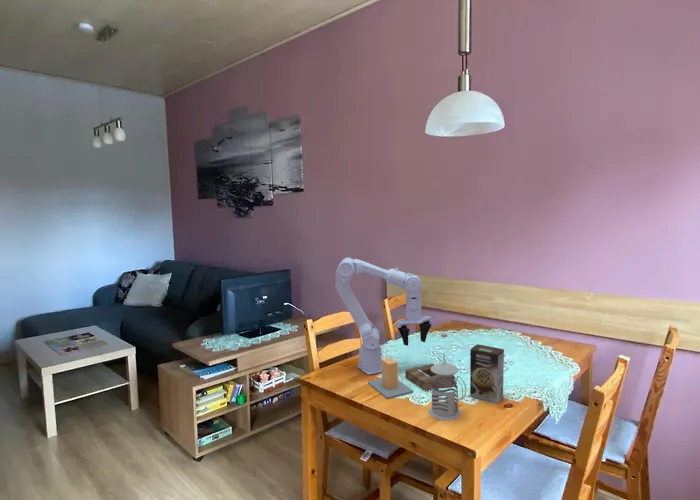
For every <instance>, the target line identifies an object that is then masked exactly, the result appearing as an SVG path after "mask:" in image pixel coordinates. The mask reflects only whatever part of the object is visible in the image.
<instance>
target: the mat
mask: <svg viewBox="0 0 700 500" xmlns="http://www.w3.org/2000/svg"><path fill="white" fill-rule="evenodd" d="M367 384H368V385H369V386H370V387H371V388H373V389H375V390H376V392H378V393H379V394H381V395H382V396H383V397H384V398H385V399H387V400H389V399H393V398H394V399H395V398H397V397H400V396H401V397H402V396H406V395H409V394H413V393H414V390H413V389H412V388H410V387H409V386H407V385H406V384H405V383H403V382H402V381H400V380H399V379H398V388H395V389H391V390H389V389H387V388H386V387H385V386H384V385H382V377H381V378H376V379H374V380H370V381H367ZM405 394H406V395H405Z"/></svg>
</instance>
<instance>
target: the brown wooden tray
mask: <svg viewBox="0 0 700 500" xmlns="http://www.w3.org/2000/svg"><path fill="white" fill-rule="evenodd" d="M433 365H435V364H434V363H430V364H424V365H421V366H416V367H413V368H409V369H404V370H405V374H404V375H405V376H404V377H405V379H406V380H408V381H409V382H411V383H412V384H414V385H415V384H416V386H417V387H418V386H419V387H418V388H419V389H421V388H422V389H421V390H423V391H424V390H425V391H424V392H426V391H427V392H429V390H430V391H432V384H433V380H434V379H435V378H438V377H444V376H441V375H437V374H435V373H433V372H432V371H431V367H432V366H433ZM429 376H430V377H429ZM445 377H447V378H451V379H454V378H456V375H455V374H454V375H449V376H445Z"/></svg>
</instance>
